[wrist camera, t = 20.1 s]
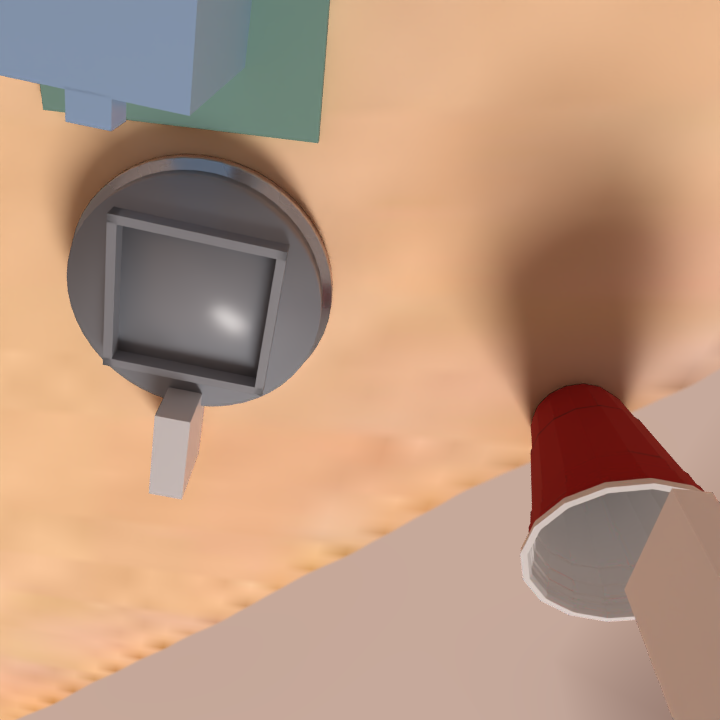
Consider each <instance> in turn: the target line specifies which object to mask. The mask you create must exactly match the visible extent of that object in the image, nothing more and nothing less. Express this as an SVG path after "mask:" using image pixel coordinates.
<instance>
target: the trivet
mask: <svg viewBox="0 0 720 720" xmlns="http://www.w3.org/2000/svg"><path fill="white" fill-rule="evenodd" d="M329 6H330V0H252V5H251V14H250V24H249V33H248V42H247V52H246V61H245V68H244V69H243V70H241V71H240V72H239V73H238V74H237V75H236V76H235V77H233V78H232V79H231V80H230V81H229V82H228V83H227V84H225V85H224V86H223V87H222V88H221V89H220V90H219V91H217V92H216V93H215V94H214V95H213V96H212V97H211V98H209V99H208V100H207V101H206V102H205V103H204V104H203V105H201V106H200V107H199V108H198V109H197V110H196V111H195V112H193V113H192V114H191V115H190V116H188V115H183V114H178V113H174V112H169V111H164V110H160V109H155V108H150V107H146V106H141V105H136V104H132V103H127V102H126V120H132V121H141V122H149V123H157V124H165V125H174V126H182V127H190V128H198V129H207V130H215V131H223V132H231V133H239V134H248V135H256V136H264V137H272V138H281V139H289V140H297V141H305V142H314V143H318V142H319V134H320V121H321V109H322V96H323V83H324V70H325V57H326V45H327V32H328V19H329ZM40 88H41V96H42V104H43V110H50V111H58V112H65V89H62V88H57V87H52V86H48V85H43V84H40Z"/></svg>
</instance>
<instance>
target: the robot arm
mask: <svg viewBox="0 0 720 720" xmlns="http://www.w3.org/2000/svg"><path fill="white" fill-rule="evenodd" d="M624 590H625V593H626V595H627V598H628V601H629V604H630V606H631V609H632V612H633V614H634V617H635V620H636V622H637V625H638V628H639V630H640V633H641V636H642V638H643V641H644V644H645V646H646V649H647V652H648V655H649V657H650V660H651V663H652V665H653V668H654V671H655V673H656V676H657V679H658V681H659V684H660V687H661V689H662V692H663V695H664V697H665V700H666V702H667V705H668V708H669V711H670V714H671V716H672V719H673V720H720V504H719V502H718V500H717V499H716V497H715V495H714V494H713V493H712V492H703V491H694V490H684V489H675V488H672V489H671V491H670V493H669V495H668V497H667V499H666V502H665V504H664V506H663V508H662V510H661V512H660V514H659V517H658V519H657V521H656V523H655V525H654V527H653V529H652V531H651V534H650V536H649V538H648V540H647V542H646V544H645V546H644V548H643V551H642V553H641V555H640V557H639V559H638V561H637V563H636V566H635V568H634V570H633V572H632V574H631V576H630V578H629V580H628V583H627V585H626V587H625V589H624Z"/></svg>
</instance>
